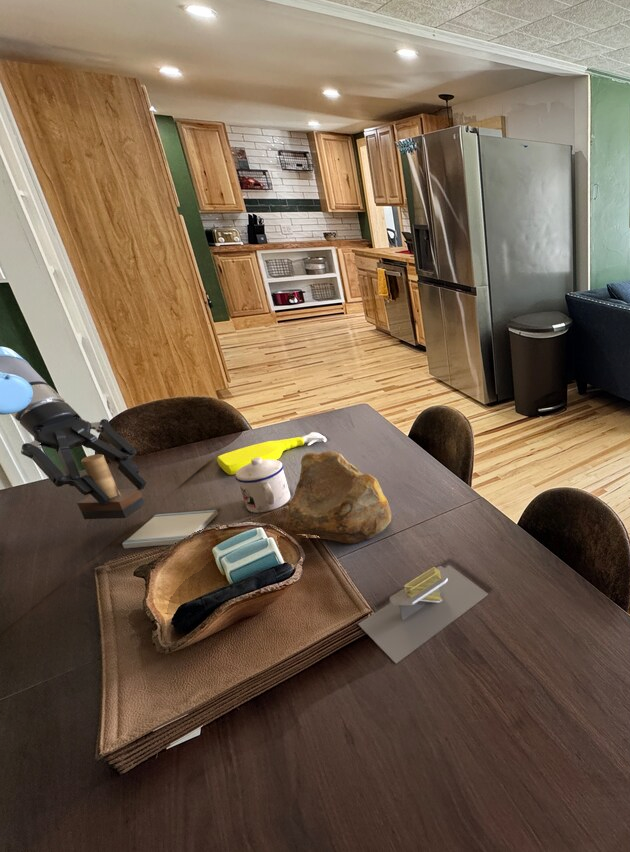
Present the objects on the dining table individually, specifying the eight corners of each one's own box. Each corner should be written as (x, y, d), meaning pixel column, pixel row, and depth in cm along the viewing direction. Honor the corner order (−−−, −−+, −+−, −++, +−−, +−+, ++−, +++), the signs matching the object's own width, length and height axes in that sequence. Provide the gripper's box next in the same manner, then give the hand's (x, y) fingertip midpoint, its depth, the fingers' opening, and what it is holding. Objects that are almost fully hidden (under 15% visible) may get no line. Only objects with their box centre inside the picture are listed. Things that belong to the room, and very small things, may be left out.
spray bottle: (216, 464, 126) (314, 434, 144) (230, 478, 120) (330, 445, 138) (213, 455, 125) (312, 426, 143) (227, 468, 119) (328, 436, 137)
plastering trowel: (488, 594, 85) (485, 565, 83) (396, 663, 72) (389, 632, 70) (449, 565, 92) (445, 537, 90) (357, 623, 79) (350, 593, 77)
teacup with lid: (242, 501, 111) (227, 458, 106) (286, 487, 117) (274, 445, 112) (252, 525, 103) (237, 479, 98) (299, 508, 109) (287, 464, 104)
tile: (124, 548, 96) (121, 543, 95) (158, 518, 105) (156, 513, 104) (190, 542, 97) (188, 537, 97) (218, 514, 106) (216, 509, 106)
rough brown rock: (270, 531, 102) (245, 475, 95) (343, 490, 114) (325, 438, 107) (328, 578, 91) (305, 518, 84) (403, 527, 103) (388, 471, 96)
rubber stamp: (84, 519, 98) (58, 464, 93) (105, 505, 102) (82, 452, 98) (125, 518, 98) (102, 463, 94) (145, 504, 103) (124, 451, 98)
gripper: (96, 405, 107) (170, 480, 109) (-26, 440, 90) (64, 528, 92) (102, 386, 103) (179, 464, 105) (-23, 419, 87) (70, 511, 89)
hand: (125, 494), depth 99 cm, fingers closed on rubber stamp, 6 cm apart
